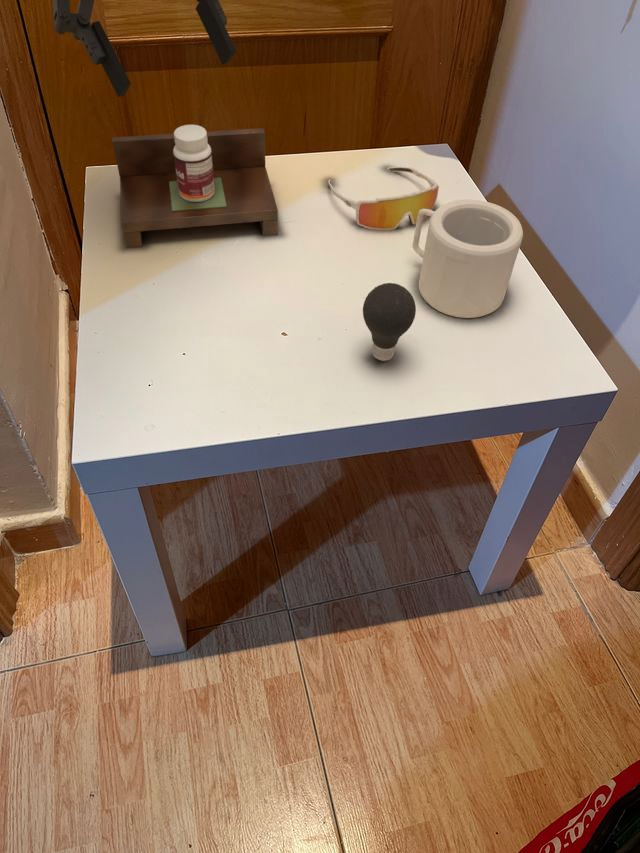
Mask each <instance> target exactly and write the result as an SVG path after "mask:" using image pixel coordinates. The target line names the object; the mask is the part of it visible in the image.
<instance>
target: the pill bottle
mask: <svg viewBox="0 0 640 853" xmlns="http://www.w3.org/2000/svg"><path fill="white" fill-rule="evenodd" d="M207 132H208V131H207V130H206V128H204V127H203V126H201V125H198V124H184V125H180V126H179V127H176V128H175V130H174V131H173V134H174V139H175V147H174V149H173V155H174V161H175V168H176V176H177V183H178V190H179V194H180V196H181V197H182V198H183V199H184V200H187V201H190V202H202V201H206V200H208V199H210V198H211V197H212V196H213V195H214V193H215V186H214V176H213V163H212V152H211V147H210V146H209V144H208V139H207Z"/></svg>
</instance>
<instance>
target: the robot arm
mask: <svg viewBox="0 0 640 853" xmlns="http://www.w3.org/2000/svg"><path fill="white" fill-rule="evenodd" d="M195 1H197V2H198V3H197V5H196V6H195V11H196V13H197V15H198V18H199V19H200V21H201V23H202V26H203V28H204V30H205V31H206V34H207V36H208V38H209V40H210V42H211V44H212V46H213V48H214V50H215V53H216V55H217V57H218V59H219V61H220V64H221V65H222V66H224V65H227V64H229V62H231V60H232V58H233V57H234V56H235V55H236V53H237V49H236V47H235V44H234V43H233V40H232V38H231V36H230V34H229V32H228V30H227V28H226V25H227V24H228V18H227V16H226V13H225V11H224V9H223V7H222V5H221V3H220V0H195ZM94 3H95V0H78V5H77V10H76V13H72V12H71V1H70V0H52V15H53V16H52V18H53V29H54V31H55V33H57V34H59V35H65V34H66V33H68V34H69V33H70V34H71V35H72V37H73V38H74V39H75V40H77V41H80V42H81V44H82V45H83V48H84V50H85V52H86V54H87V55H88V57H89V59H90V61H91V62H92V63H93V65H94V66H99V65H101V66H102V68H103V70H104V72H105V74H106V76H107V78H108V80H109V82H110V84H111V85H112V88H113V90H114V91H115V93H116V95H117V97H118V98H121V97H124V96H126V95H127V93H128V90H129V88H130V86H131V85H132V82H131V81H130V79H129V76H128V74H127V73H126V71H125V68H124V67H123V65H122V62H121V60H120V59H119V57H118V55H117V53H116V51H115V49H114V47H113V45H112V43H111V42H110V39H109V37H108V35H107V34H106V32H105V29H104V27H103V25H102V24H101V21H100V20H97V21H93V22H92V23H91V18H92V13H93V9H94V8H93V7H94V5H95V4H94Z"/></svg>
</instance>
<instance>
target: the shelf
mask: <svg viewBox="0 0 640 853" xmlns="http://www.w3.org/2000/svg"><path fill="white" fill-rule="evenodd" d="M206 132H207V139H208V144H209V146H210V147H211V152H212V163H213V176H214V186H215V193H214V195H213V196H212V197H211V198H210V199H208V200H206V201H202V202H190V201H187V200H184V199H183V198H182V197H181V196H180V194H179V190H178V183H177V176H176V168H175V161H174V155H173V149H174V147H175V139H174V133H163V134H149V135H134V136H115V137H112V147H113V151H114V156H115V161H116V166H117V170H118V176H119V197H120V199H119V200H120V224H121V229H122V233H123V239H124V244H125V247H126V249H135V248H137V249H138V248H143V239H142V238H143V236H142V232H148V231H149V232H150V231H160V230H161V231H162V230H171V229H172V230H173V229H184V228H196V227H207V226H208V227H209V226H218V225H231V224H243V223H256V222H259V225H260V228H261V232H262V237H272V236H273V237H274V236H279V210H278V206H277V202H276V198H275V196H274V192H273V189H272V185H271V181H270V178H269V173H268V170H267V167H266V165H267V164H266V135H265V133H266V132H265V129H264V128H263V127H260V128H257V127H256V128H244V129H243V128H242V129H241V128H240V129H230V130H229V129H228V130H227V129H226V130H212V131H206Z"/></svg>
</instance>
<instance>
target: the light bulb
mask: <svg viewBox="0 0 640 853" xmlns="http://www.w3.org/2000/svg"><path fill="white" fill-rule="evenodd" d="M416 307H417V306H416V301H415V299H414V297H413V295H412V293H411V292H410V291H409V290H408V289H407V288H406V287H405V286H402V284H401V285H400V284H398V283H394V282H393V283H392V282H386V283H382V284H379V285H376V286H375V287H374V288H373V289H372V290H371V291H370V292H368V294H367V296H366V297H365V299H364V302H363V306H362V316H363V320H364V323H365V325H366V327H367V329H368V330H369V333H370V334H371V340H372V347H371V348H372V350H371V351H372V356H373V357H374V358H375V359H376V360H379V361H383V362H385V361H390V360H391V359H393V357H394V354H395V351H396V345H397V344H398V341H399V340H400V338H401V337H402V336H403V335H404V334H405V333H406V332H407V331H408V330H409V329H410V328H411V327H412V325H413V323H414V320H415V318H416V314H417V308H416Z"/></svg>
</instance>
